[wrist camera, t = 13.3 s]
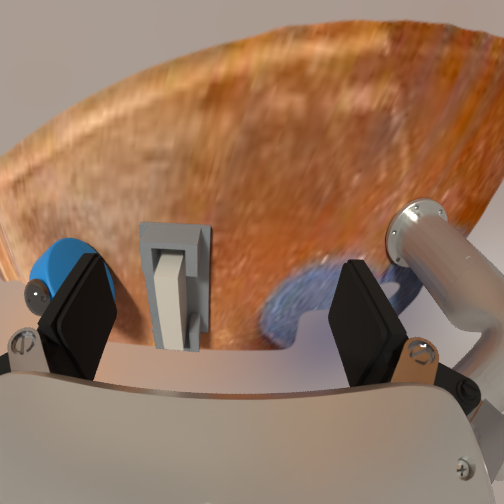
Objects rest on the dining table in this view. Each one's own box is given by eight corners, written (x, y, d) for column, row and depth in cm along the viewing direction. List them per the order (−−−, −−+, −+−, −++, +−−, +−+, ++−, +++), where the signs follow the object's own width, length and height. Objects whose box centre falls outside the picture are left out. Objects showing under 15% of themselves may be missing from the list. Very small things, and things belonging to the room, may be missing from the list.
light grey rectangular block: (184, 248, 40) (177, 278, 34) (187, 318, 47) (183, 350, 41) (164, 247, 40) (153, 276, 34) (170, 317, 47) (164, 349, 41)
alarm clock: (54, 239, 39) (7, 298, 26) (74, 220, 37) (23, 280, 25) (103, 295, 45) (74, 362, 32) (126, 281, 44) (98, 352, 31)
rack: (210, 225, 39) (208, 245, 35) (208, 328, 50) (207, 352, 45) (141, 221, 38) (129, 241, 34) (154, 324, 49) (148, 347, 44)
